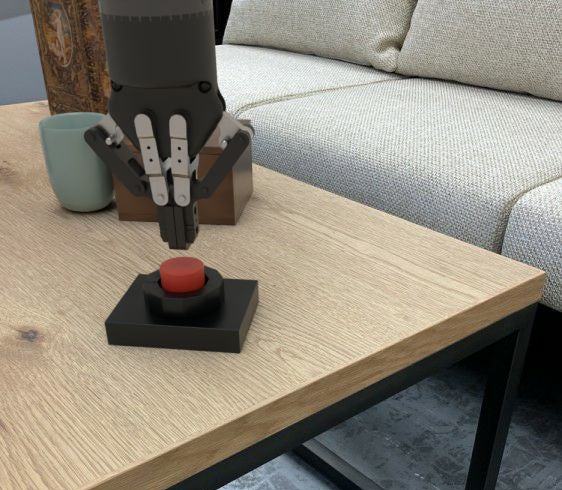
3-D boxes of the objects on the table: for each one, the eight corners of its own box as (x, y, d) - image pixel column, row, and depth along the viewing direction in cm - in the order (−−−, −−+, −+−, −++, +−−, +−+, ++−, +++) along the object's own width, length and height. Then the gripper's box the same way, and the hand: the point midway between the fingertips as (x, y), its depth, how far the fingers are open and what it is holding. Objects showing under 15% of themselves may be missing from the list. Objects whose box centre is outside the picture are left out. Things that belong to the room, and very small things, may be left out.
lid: (101, 151, 76) (100, 143, 75) (134, 123, 85) (134, 116, 85) (231, 154, 74) (231, 147, 74) (251, 126, 84) (250, 119, 83)
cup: (127, 195, 87) (116, 111, 81) (112, 218, 81) (99, 129, 75) (65, 195, 87) (50, 112, 82) (46, 218, 81) (27, 129, 75)
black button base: (107, 345, 57) (100, 302, 55) (141, 295, 65) (136, 254, 62) (240, 354, 56) (237, 310, 54) (259, 301, 63) (257, 260, 61)
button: (156, 293, 57) (153, 273, 56) (168, 274, 60) (166, 255, 59) (199, 295, 56) (197, 276, 55) (209, 276, 59) (208, 257, 58)
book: (135, 139, 108) (111, -50, 94) (103, 146, 105) (74, -48, 91) (82, 120, 118) (54, -53, 104) (52, 126, 115) (19, -52, 101)
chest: (118, 220, 80) (108, 151, 76) (148, 186, 90) (141, 124, 85) (235, 225, 78) (231, 155, 74) (253, 190, 88) (251, 126, 84)
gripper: (263, -3, 49) (269, 231, 59) (82, -3, 51) (117, 225, 60) (243, 10, 43) (254, 270, 52) (38, 10, 44) (85, 262, 54)
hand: (180, 245), depth 56 cm, fingers closed
